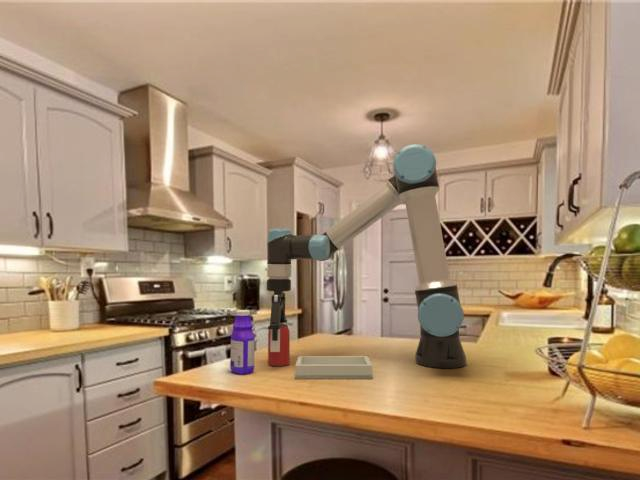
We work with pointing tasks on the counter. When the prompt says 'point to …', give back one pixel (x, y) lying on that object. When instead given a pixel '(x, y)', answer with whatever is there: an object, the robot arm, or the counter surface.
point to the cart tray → (333, 367)
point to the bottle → (242, 344)
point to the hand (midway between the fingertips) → (277, 347)
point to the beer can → (284, 354)
